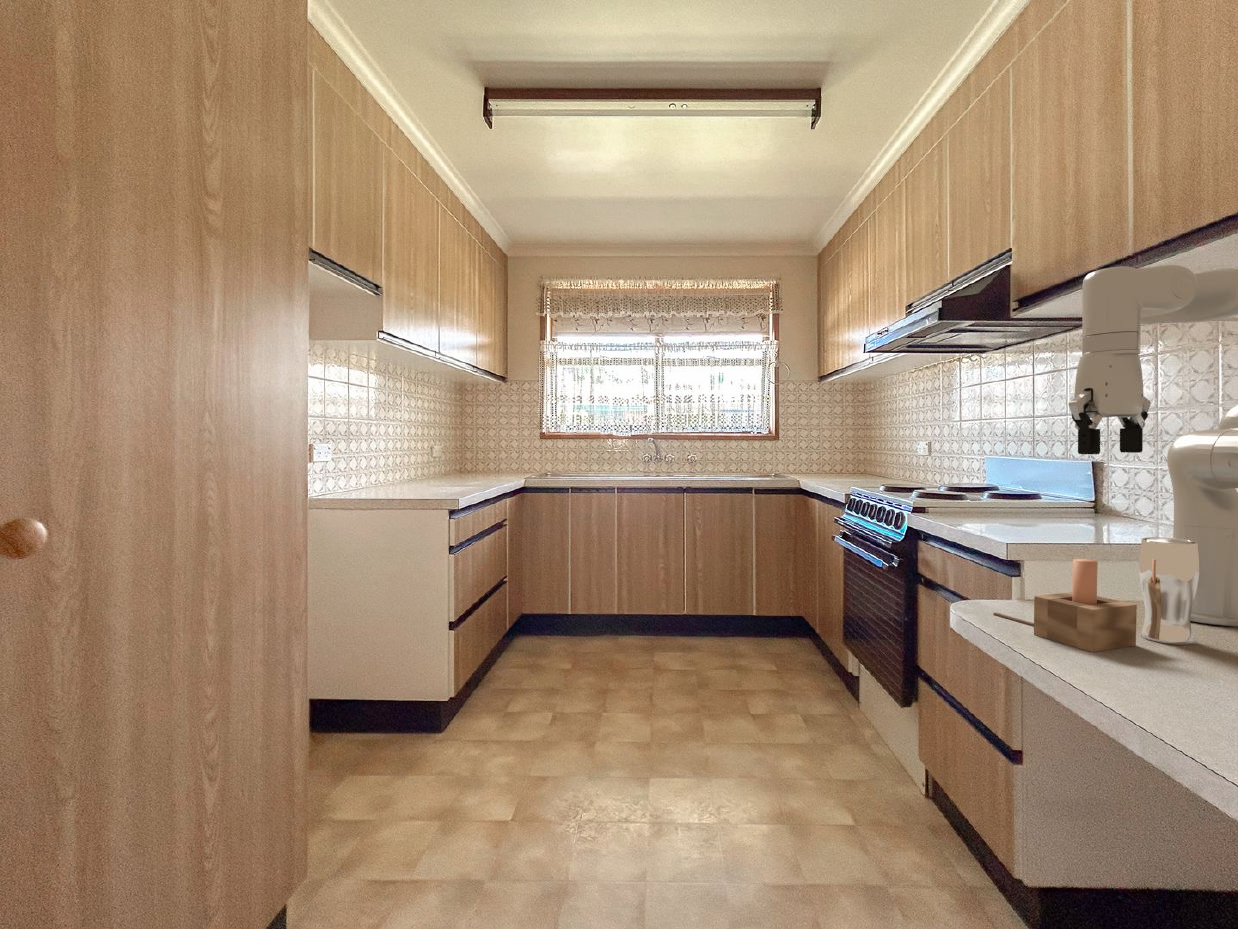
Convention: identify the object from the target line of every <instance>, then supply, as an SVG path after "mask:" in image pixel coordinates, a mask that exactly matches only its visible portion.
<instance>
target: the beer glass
mask: <svg viewBox="0 0 1238 929" xmlns="http://www.w3.org/2000/svg"><path fill="white" fill-rule="evenodd" d="M1138 559H1139V560H1138V576H1139V581H1140V582H1139V583H1140V588H1141V593H1142V594H1141V595H1142V598H1143V603H1144V604H1143V605H1144V620H1143V624H1142V628H1141V632H1140V633H1141V634H1140V635H1141V637H1143V638H1144V639H1145V640H1149V641H1151V642H1156V643H1161V644H1166V645H1173V646H1174V645H1175V646H1190V645H1193V644H1194V634H1193V630H1192V624H1191V622H1192V621H1191V611H1192V607H1193V603H1194V599H1195V595H1196V591H1197V587H1198V581H1199V553H1198V542H1196V541H1191V540H1185V539H1176V538H1173V537H1172V538H1171V537H1157V536H1156V537H1154V536H1153V537H1141V544H1140V551H1139V558H1138Z"/></svg>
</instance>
